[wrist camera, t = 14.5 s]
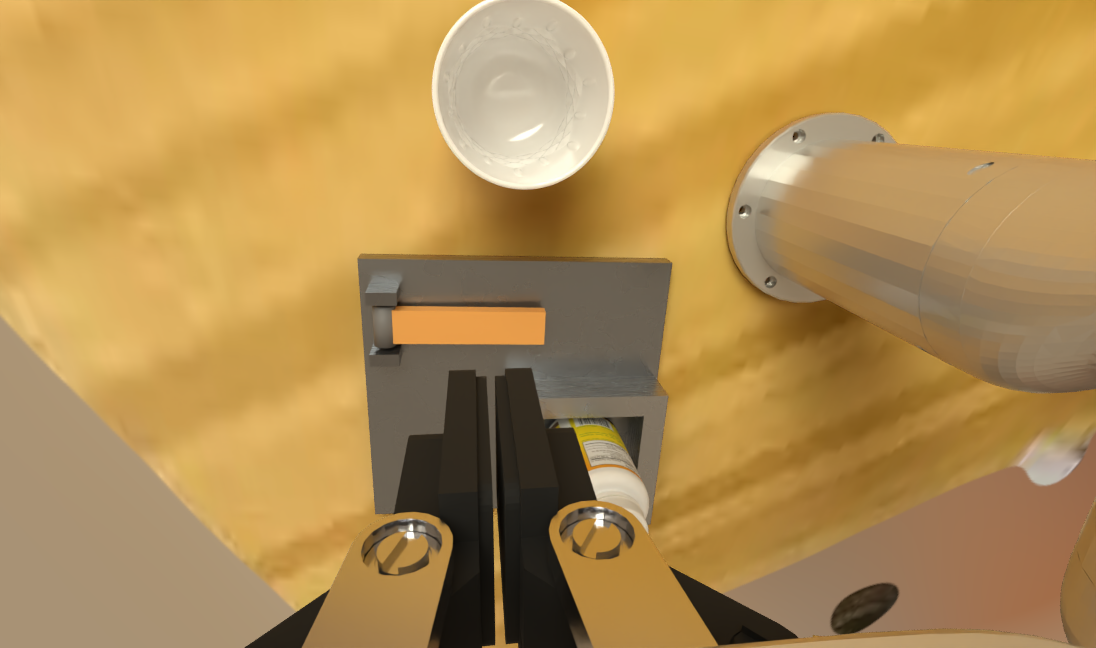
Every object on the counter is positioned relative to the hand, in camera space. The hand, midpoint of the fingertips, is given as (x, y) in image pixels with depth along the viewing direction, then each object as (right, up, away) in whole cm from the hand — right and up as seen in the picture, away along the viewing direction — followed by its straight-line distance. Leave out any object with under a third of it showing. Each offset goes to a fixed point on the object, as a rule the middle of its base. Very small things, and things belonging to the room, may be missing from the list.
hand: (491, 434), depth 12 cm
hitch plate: (-1, -2, +29) cm, 29 cm away
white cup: (-1, +16, +22) cm, 27 cm away
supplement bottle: (+3, -6, +30) cm, 31 cm away
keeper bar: (-4, +2, +25) cm, 25 cm away
